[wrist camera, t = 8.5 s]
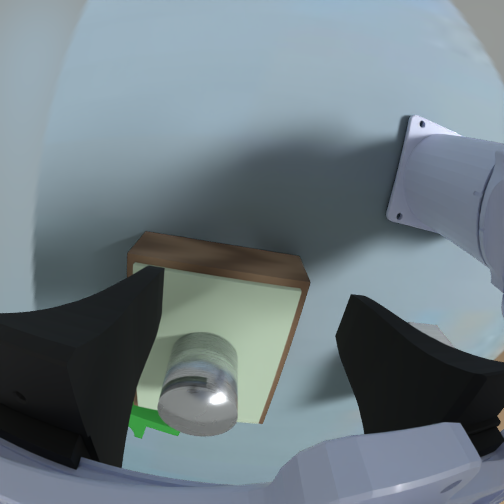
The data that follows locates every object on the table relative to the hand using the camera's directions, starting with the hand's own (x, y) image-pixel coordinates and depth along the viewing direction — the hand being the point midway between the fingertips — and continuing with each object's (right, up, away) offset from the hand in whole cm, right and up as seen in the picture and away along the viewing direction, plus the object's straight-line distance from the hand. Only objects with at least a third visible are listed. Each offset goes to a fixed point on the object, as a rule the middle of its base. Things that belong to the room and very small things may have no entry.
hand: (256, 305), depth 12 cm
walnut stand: (-4, -4, +13) cm, 14 cm away
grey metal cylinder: (-3, -5, +9) cm, 10 cm away
